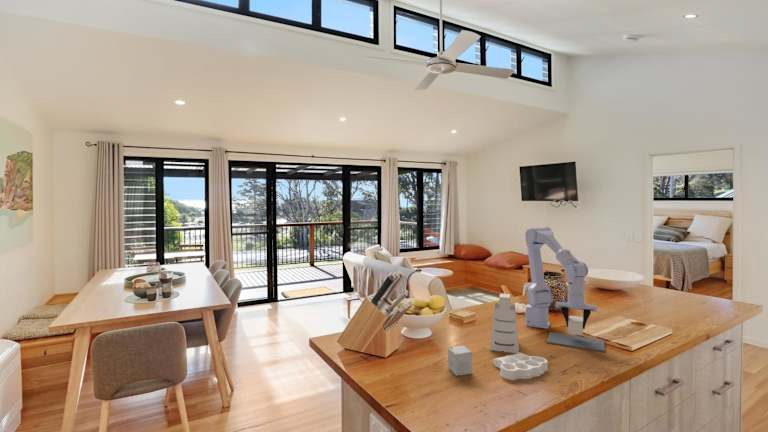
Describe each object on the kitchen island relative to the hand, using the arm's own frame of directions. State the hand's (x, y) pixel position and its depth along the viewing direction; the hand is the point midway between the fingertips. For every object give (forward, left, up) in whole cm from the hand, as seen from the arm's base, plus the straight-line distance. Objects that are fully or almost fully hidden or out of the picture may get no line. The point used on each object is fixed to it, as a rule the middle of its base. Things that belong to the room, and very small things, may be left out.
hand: (575, 327), depth 151 cm
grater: (-24, -17, -6) cm, 30 cm away
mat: (0, 0, -6) cm, 6 cm away
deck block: (0, 0, -1) cm, 1 cm away
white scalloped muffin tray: (-15, -35, -7) cm, 39 cm away
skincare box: (-33, -45, -6) cm, 56 cm away
